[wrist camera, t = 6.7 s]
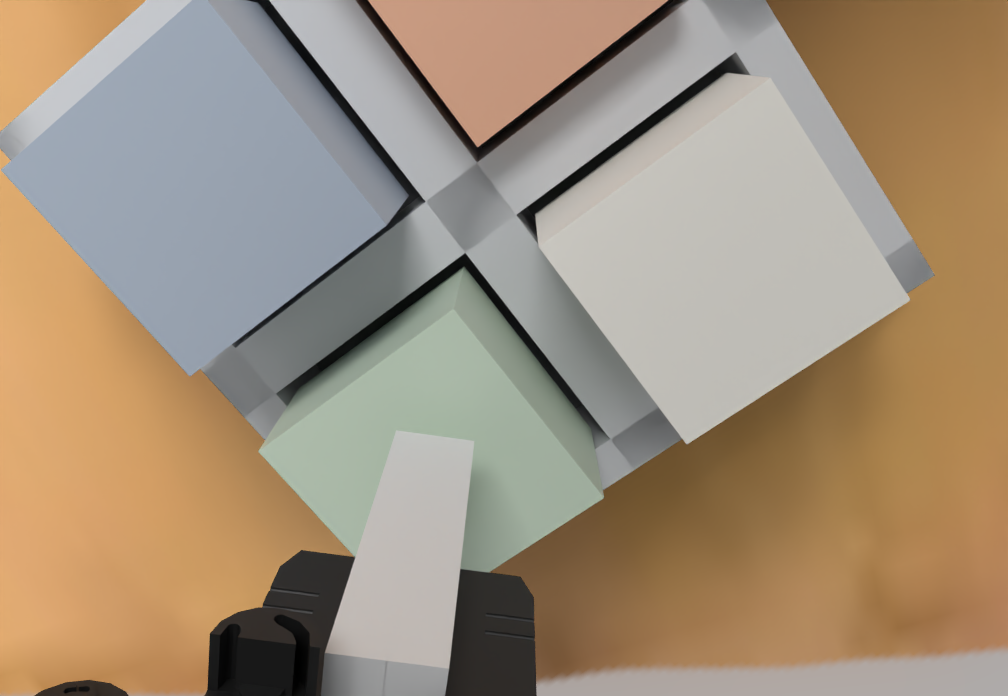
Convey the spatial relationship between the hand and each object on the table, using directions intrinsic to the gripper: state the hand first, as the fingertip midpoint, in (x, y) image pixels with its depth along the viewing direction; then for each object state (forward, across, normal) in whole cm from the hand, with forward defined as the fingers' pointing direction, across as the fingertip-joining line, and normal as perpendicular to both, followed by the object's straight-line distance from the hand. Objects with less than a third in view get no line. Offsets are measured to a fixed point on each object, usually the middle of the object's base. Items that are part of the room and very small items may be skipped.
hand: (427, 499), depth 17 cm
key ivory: (+4, +5, +5) cm, 8 cm away
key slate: (+4, -5, +5) cm, 8 cm away
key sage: (+4, 0, 0) cm, 4 cm away
